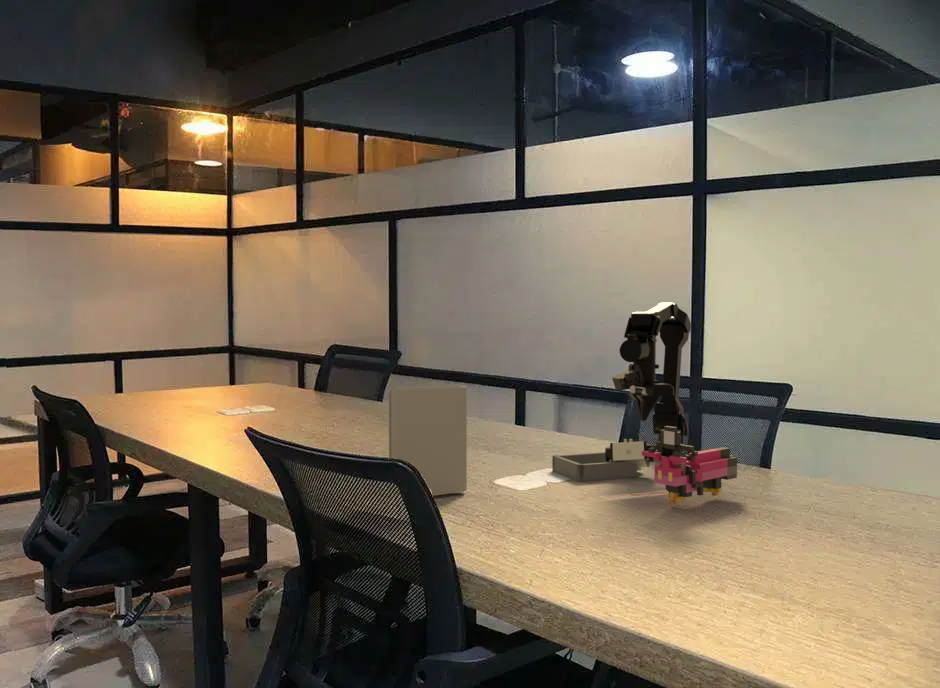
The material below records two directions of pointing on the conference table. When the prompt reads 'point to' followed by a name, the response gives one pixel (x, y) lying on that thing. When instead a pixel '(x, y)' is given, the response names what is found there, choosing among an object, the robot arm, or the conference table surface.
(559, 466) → the housing bay
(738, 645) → the conference table surface
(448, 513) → the conference table surface
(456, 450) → the book
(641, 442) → the pneumatic valve
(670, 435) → the figurine
